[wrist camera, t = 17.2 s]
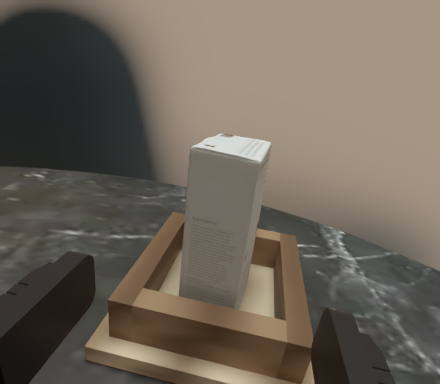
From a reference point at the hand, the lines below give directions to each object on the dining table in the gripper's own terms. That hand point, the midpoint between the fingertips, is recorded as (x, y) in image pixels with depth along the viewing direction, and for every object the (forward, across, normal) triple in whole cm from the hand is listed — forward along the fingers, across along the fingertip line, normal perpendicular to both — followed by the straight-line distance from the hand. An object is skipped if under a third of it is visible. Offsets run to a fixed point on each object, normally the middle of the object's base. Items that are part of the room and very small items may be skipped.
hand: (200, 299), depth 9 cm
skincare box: (+10, 0, +9) cm, 14 cm away
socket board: (+10, 0, +10) cm, 14 cm away
